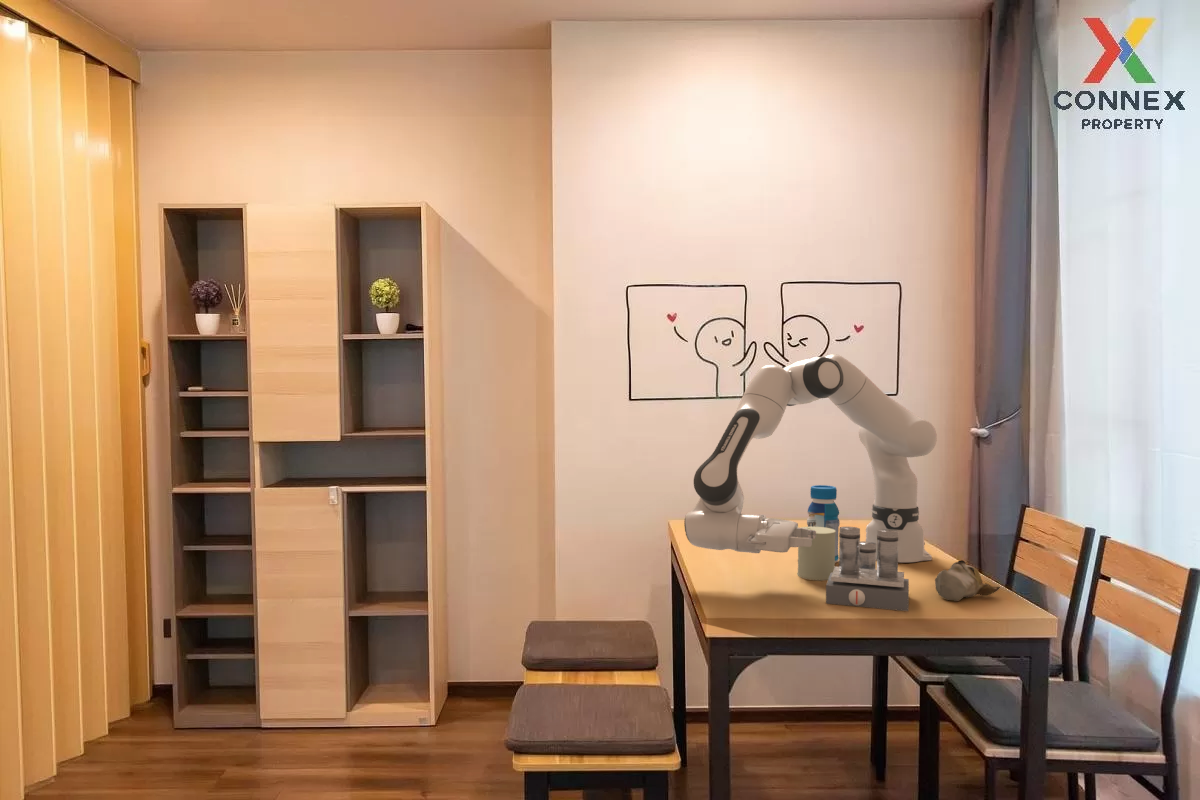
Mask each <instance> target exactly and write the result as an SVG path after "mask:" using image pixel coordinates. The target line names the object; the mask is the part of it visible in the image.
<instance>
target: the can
mask: <svg viewBox="0 0 1200 800" xmlns="http://www.w3.org/2000/svg"><path fill="white" fill-rule="evenodd" d="M800 528H805V529H808V530H815V531H816V538H815V539H812V545H811V547H804V546H803V547H797V551H798V552H797V573H796V576H798V577H800V578H802V579H804V580H809V581H828V579H829V576H830V573H833V570H834V568H835V565H836V563H835V533H836V531H835V530H834V529H831V528H826V527H808V526H801V527H800ZM798 538H800V537H798ZM801 538H804V537H801Z"/></svg>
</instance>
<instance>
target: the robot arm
mask: <svg viewBox="0 0 1200 800" xmlns="http://www.w3.org/2000/svg"><path fill="white" fill-rule="evenodd" d="M742 395H743V396H742V397H741V399H740V402H739V404H738V406H737V408H736V411H735V413H734V415H733V416H732V418H731V420H730V421H729V423H728V425H727V427H726V429H725V430H724V433H723V434H722V436H721V438H720V440H719V442H718V443H717V445H716V447H715V449H714V451H713V452H712V454H711V455H710V456H709V457H708V458H707V459H706V460H705V461H704V462H703V463H702V464H701V465H700V466H699V467H698V468H697V469H696V471H695V473H694V477H693V487H694V491H695V492H696V494H697V495H698V497H700V498H699V500H698V501H697V503H695V506H694V507H693V508H692V509H691V510H690V511H688V512H687V513H686V514H685V516H684V532H685V536H686V538H687V540H688V542H689V543H690V544H691V545H693V546H694V547H696V548H697V547H698V548H701V549H702V548H703V549H708V550H715V551H716V550H717V551H725V550H732V551H735V552H737V553H738V552H740V553H751V554H760V553H761V551H764V552H765V551H767V552H773V553H787V552H788V551H789V550H790V549H791V548H798V547H803V546H804V547H811V545H812V539H815V538H816V531H815V530H808V529H805V528H801V527H799V523H798V522H796V521H793V520H787V519H782V518H775V517H774V518H773V517H767V515H765V514H750V513H747V514H746V513H742V510H743V506H744V502H745V496H744V492H743V489H742V487H741V484H740V482H739V479H738V466H739V464H740V461H741V460H742V458H743V456H744V454H745V452H746V450H747V449H748V446H749V444H750V442H751V441H752V440H754V439H756V440H759V439H760V440H762V439H766V438H768V437H770V436H772V435H773V434H774V433H775V431H776V430H777V428H778V426H779V425H780V423H781V421H782V419H783V416H784V413H785V412H786V409H787V407H792V406H796V405H804V404H805V405H806V404H810V403H812V402H814V401H815V402H817V401H819V400H821V399H827V398H828V399H829V400H830V401H831V402H832V403H833V404H834V405H835V406H836V407H837V408H838V409H839V410H840V411H841V412H842V413H843V414H844V415H845V416H846V417H847V418H848V420H850V421H852V422H853V423H854V424H855V425H857V426H859V427H858V438H859V441H860V442H861V444H863V447H864V448H865V450H866V452H867V454H868V457H869V462H870V464H871V469H872V472H873V473H872V476H873V492H874V493H873V498H874V499H873V504H872V505H871V506H872V508H871V513H872V514H871V518H872V520H871V521H870V522H869V523H867V525H866V528H865V533H866V534H865V542H873V543H876V560H877V530H879V529H892V530H897V531H898V563H916V562H917V563H918V562H923V561H932V560H933V556H932V555H931V554H930V553H929V552H928V551H927V550H926V549H925V545H926V542H925V529H924V528H923V526H922V525H921V524H920V523H919V519H920V518H919V515H920V511H919V506H918V479H917V476H916V474H915V472H914V471H913V470H912V469H911V466H910V464H909V462H908V458H919V457H922V456H923V457H925V456H926V455H929V454H930V453H931V452H932V451H933V450H934V448H935V446H936V444H937V441H938V435H937V430H936V428H935V427H934V426H933V424H932V423H931V422H929V421H927V420H926V419H923V418H922V417H919V416H918V415H917V414H915V413H913V412H912V411H910V410H909V409H907V408H906V407H905V406H903V405H902V404H900V403H899V402H898V401H896V400H895V399H893V398H891V397H890V396H888V394H886V393H884V391H883V390H881V389H880V388H879V386H877V385H876V384H875V383H874V382H873V381H872V380H871V379H870V378H869V377H868V375H866V374H865V373H864V372H863V371H862V370H861V369H859V367H857V366H856V365H855V364H854V363H852V362H851V361H849V360H848V359H846V357H844V356H842V355H840V354H835V353H833V354H832V353H831V354H828V355H825V356H814V357H812V358H806V359H802V360H798V361H795V362H794V363H791V364H789V365H786V366H782V367H781V366H778V365H773V364H769V365H764V366H762V367H760V368H759V370H757V372H756V373H755V375H754V376H753V377H752V379H751V381H750V382H749V384H748V385H747V387H746V389H745V390H744V393H743V394H742ZM798 537H800V538H798ZM801 537H804V538H801Z"/></svg>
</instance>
